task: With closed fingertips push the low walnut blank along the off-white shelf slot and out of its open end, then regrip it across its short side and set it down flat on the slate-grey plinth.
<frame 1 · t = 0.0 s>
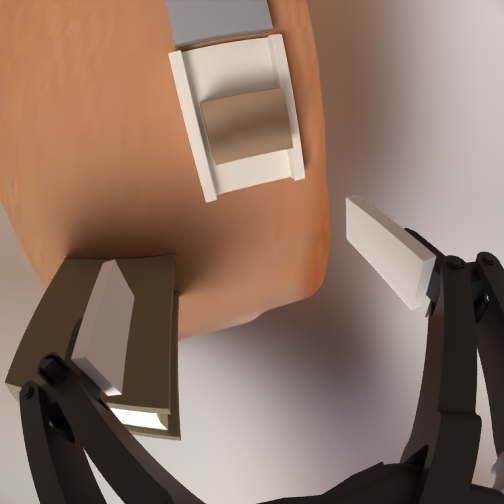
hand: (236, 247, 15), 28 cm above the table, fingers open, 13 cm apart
book: (117, 277, 46), on the table
plinth: (215, 10, 27), on the table
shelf: (238, 114, 36), on the table
blank: (241, 121, 36), point 1 cm above the table, touching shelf
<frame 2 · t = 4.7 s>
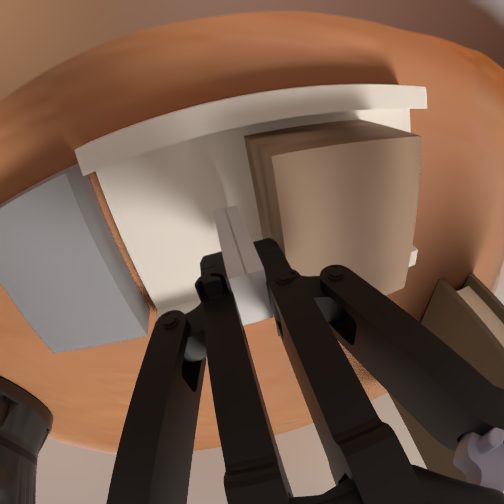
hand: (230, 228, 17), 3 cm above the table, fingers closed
book: (424, 334, 36), on the table
plinth: (64, 261, 18), on the table
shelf: (279, 198, 19), on the table
blank: (314, 196, 19), point 1 cm above the table, touching gripper
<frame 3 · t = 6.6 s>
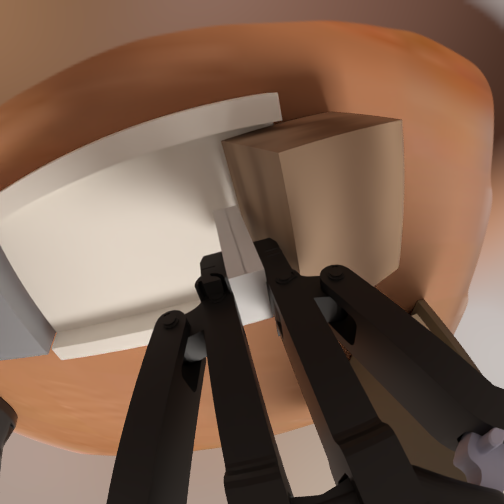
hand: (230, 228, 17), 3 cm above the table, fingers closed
book: (367, 362, 35), on the table
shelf: (131, 240, 18), on the table
blank: (295, 195, 18), point 1 cm above the table, tilted 15°, touching gripper
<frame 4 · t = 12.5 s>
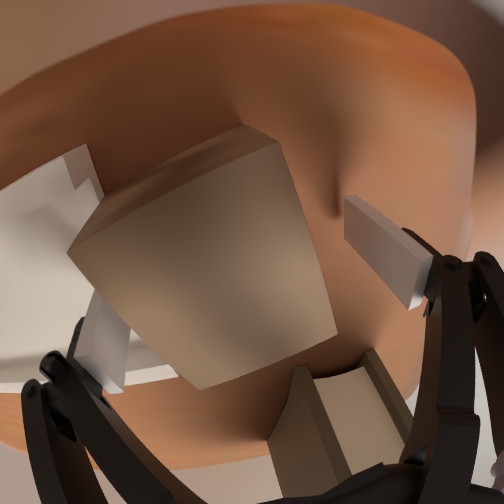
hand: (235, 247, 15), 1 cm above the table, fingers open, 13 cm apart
book: (310, 407, 31), on the table
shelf: (15, 301, 15), on the table
blank: (211, 234, 16), on the table
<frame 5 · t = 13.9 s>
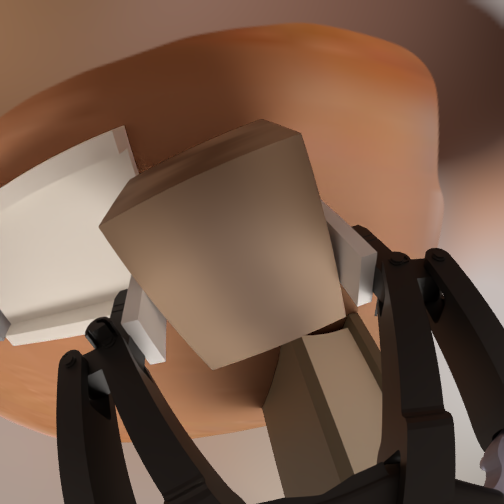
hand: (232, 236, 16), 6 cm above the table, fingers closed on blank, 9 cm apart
book: (302, 372, 36), on the table
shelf: (48, 253, 20), on the table
blank: (228, 221, 17), point 5 cm above the table, touching gripper
when the fingers open (4 cm above the table, at t = 19.0 s): blank stays where it is, resting on plinth.
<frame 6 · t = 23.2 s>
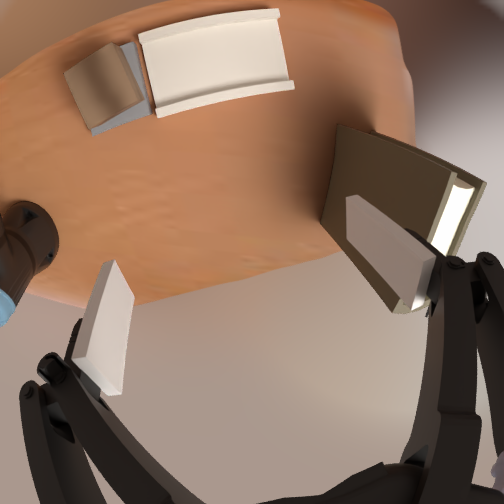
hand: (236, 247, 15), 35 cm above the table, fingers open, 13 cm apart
book: (347, 180, 53), on the table
plinth: (115, 88, 35), on the table
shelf: (216, 59, 36), on the table
blank: (110, 86, 32), point 3 cm above the table, touching plinth
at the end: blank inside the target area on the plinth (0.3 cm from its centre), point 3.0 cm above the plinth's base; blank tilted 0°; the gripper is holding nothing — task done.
